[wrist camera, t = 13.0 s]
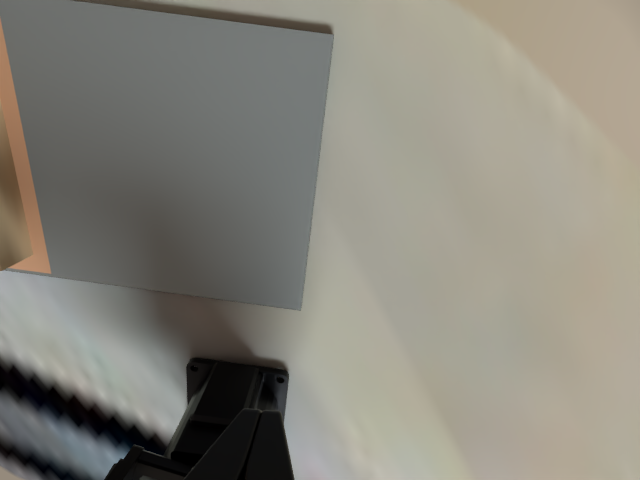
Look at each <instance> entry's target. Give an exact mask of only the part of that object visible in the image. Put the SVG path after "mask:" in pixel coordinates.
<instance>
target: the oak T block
mask: <svg viewBox="0 0 640 480" xmlns="http://www.w3.org/2000/svg"><path fill="white" fill-rule="evenodd" d="M32 255H33V250H32V245H31V241H30V236H29V231H28V227H27V222H26V217H25V213H24V208H23V203H22V199H21V194H20V189H19V185H18V180H17V175H16V171H15V166H14V161H13V157H12V152H11V147H10V143H9V138H8V133H7V129H6V124H5V119H4V115H3V110H2V105H1V101H0V271H3V270H5V269H7V268H8V267H10V266H12V265H14V264H16V263H18V262H20V261H22V260H24V259H26V258H28V257H30V256H32Z"/></svg>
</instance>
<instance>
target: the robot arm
mask: <svg viewBox="0 0 640 480" xmlns="http://www.w3.org/2000/svg"><path fill="white" fill-rule="evenodd" d="M194 365H195V366H197V367H195V366H194ZM186 369H187V399H188V407H187V409H186V411H185V413H184V415H183V417H182V419H181V421H180V423H179V425H178V427H177V429H176V431H175V433H174V435H173V437H172V439H171V441H170V443H169V445H168V447H167V449H166V451H165V453H164V455H163V456H161V455H158V454H155V453H151V452H148V451H145V450H144V448H143V447H140V446H137V445H133V446H132V448H131V449H130V451H129V452H128V454H127V455H126V456H125V458H124V459H120V460H119V462H118V463H116V464H114V465H113V466H112V468H111V470H110V471H109V473H108V475H107V476H106V478H105V479H104V480H294V475H293V470H292V465H291V459H290V454H289V449H288V444H287V439H286V434H285V429H284V417H285V408H286V399H287V390H288V381H289V374H288V373H287V372H286V371H285V370H281V369H274V368H266V367H259V366H252V365H244V364H237V363H230V362H222V361H215V360H208V359H200V358H192V359H191V360H190V361H189V363H188V364H187V367H186ZM279 377H282V378H283V379H280V378H279Z"/></svg>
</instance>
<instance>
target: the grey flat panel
mask: <svg viewBox="0 0 640 480" xmlns="http://www.w3.org/2000/svg"><path fill="white" fill-rule="evenodd" d="M333 39H334V35H332V34H324V33H316V32H309V31H301V30H294V29H286V28H278V27H271V26H263V25H256V24H248V23H240V22H233V21H225V20H217V19H210V18H202V17H195V16H187V15H179V14H172V13H164V12H157V11H149V10H141V9H134V8H126V7H119V6H111V5H103V4H96V3H88V2H81V1H73V0H0V101H1V105H2V110H3V115H4V119H5V124H6V129H7V133H8V138H9V143H10V147H11V152H12V157H13V161H14V166H15V171H16V175H17V180H18V185H19V189H20V194H21V199H22V203H23V208H24V213H25V217H26V222H27V227H28V231H29V236H30V241H31V245H32V250H33V255H32V256H30V257H28V258H26V259H24V260H22V261H20V262H18V263H16V264H14V265H12V266H10V267H8V268H7V269H5V271H12V272H20V273H27V274H35V275H42V276H49V277H57V278H64V279H71V280H79V281H86V282H94V283H101V284H108V285H116V286H123V287H131V288H138V289H145V290H153V291H160V292H167V293H175V294H182V295H190V296H197V297H204V298H212V299H219V300H226V301H234V302H241V303H249V304H256V305H263V306H271V307H278V308H286V309H293V310H300V311H301V306H302V298H303V290H304V281H305V273H306V264H307V256H308V248H309V239H310V231H311V223H312V214H313V206H314V198H315V189H316V181H317V172H318V164H319V156H320V147H321V139H322V131H323V122H324V114H325V106H326V97H327V89H328V80H329V72H330V64H331V55H332V47H333Z"/></svg>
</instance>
